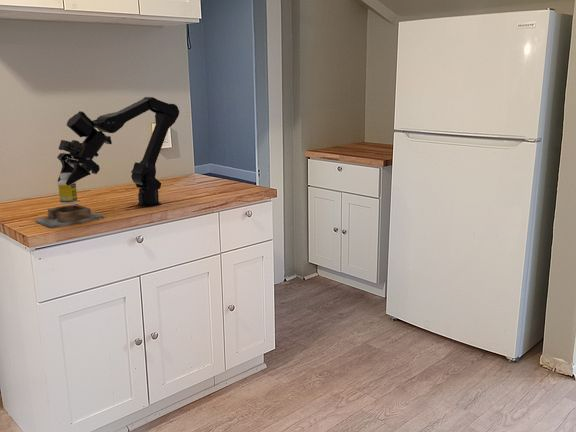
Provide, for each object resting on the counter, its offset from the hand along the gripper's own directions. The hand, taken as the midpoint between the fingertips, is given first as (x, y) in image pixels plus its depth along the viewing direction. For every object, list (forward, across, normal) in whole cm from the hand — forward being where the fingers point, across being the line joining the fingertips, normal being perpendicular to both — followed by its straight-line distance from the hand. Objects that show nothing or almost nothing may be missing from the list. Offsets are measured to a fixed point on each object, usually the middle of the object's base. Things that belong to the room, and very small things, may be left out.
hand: (62, 183), depth 182 cm
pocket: (+8, 0, +10) cm, 13 cm away
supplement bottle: (+4, 0, +6) cm, 7 cm away
